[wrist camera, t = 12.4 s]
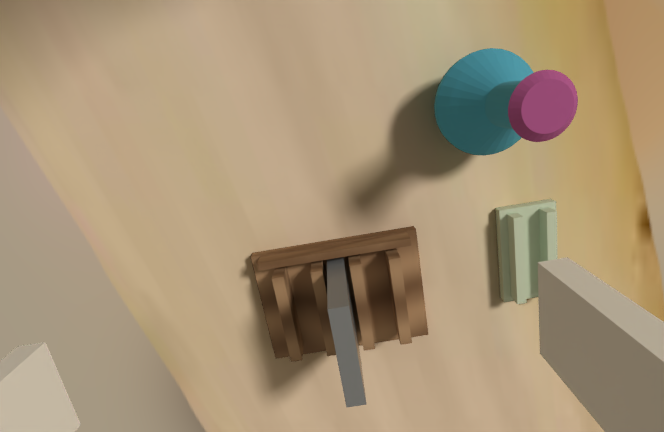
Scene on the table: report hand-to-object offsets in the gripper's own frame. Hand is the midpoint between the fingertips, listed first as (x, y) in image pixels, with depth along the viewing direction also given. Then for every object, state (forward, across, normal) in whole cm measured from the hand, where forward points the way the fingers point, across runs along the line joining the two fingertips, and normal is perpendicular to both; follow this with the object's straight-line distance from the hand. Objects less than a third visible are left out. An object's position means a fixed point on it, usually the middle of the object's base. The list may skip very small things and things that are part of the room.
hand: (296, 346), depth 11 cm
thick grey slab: (+31, 0, -16) cm, 35 cm away
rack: (+33, 0, -16) cm, 36 cm away
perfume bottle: (+33, +16, +3) cm, 37 cm away
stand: (+33, +21, -14) cm, 41 cm away
